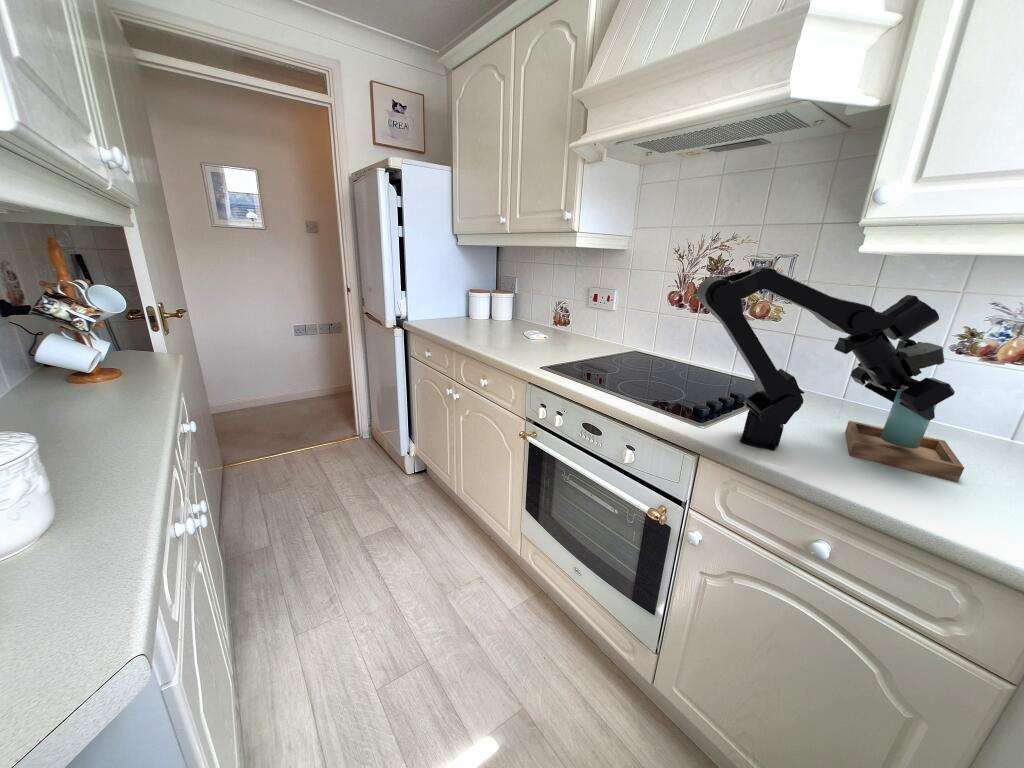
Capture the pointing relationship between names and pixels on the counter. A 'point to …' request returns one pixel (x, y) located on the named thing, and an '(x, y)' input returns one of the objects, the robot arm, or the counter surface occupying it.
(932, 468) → the tray
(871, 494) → the counter surface
